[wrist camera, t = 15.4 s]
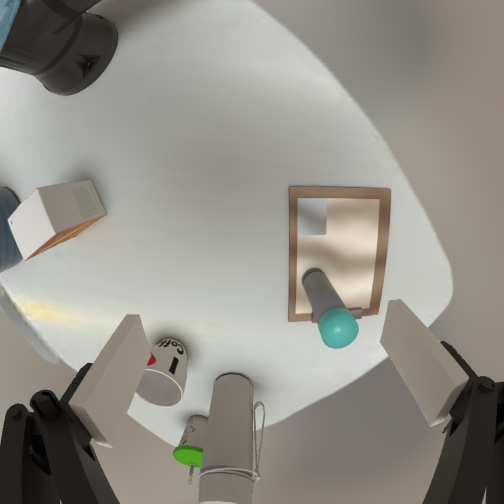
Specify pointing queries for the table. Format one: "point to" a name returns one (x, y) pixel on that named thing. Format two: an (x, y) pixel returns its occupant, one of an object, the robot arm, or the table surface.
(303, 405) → the table surface
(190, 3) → the table surface
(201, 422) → the cup
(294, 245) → the tan flat rectangular tray
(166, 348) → the cup
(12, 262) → the vase
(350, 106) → the table surface
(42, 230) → the small box
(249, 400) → the water bottle
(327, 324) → the marker
